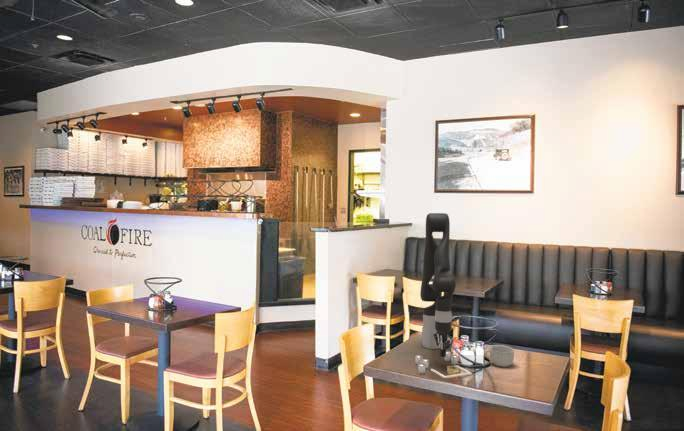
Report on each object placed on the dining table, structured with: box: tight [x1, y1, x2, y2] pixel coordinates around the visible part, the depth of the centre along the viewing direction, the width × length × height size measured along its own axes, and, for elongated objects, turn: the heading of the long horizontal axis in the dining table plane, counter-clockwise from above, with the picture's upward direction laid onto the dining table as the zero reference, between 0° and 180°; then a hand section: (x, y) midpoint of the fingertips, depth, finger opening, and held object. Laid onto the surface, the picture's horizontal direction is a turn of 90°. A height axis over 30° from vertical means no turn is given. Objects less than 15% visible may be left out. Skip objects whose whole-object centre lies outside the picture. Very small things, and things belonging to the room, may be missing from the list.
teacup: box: [483, 344, 515, 368], centre depth 228 cm, size 14×11×8 cm
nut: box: [446, 365, 460, 375], centre depth 217 cm, size 6×5×3 cm
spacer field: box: [414, 350, 458, 376], centre depth 225 cm, size 14×28×4 cm, turn 112°
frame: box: [429, 364, 473, 380], centre depth 217 cm, size 11×14×1 cm
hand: (442, 356), depth 224 cm, fingers closed
